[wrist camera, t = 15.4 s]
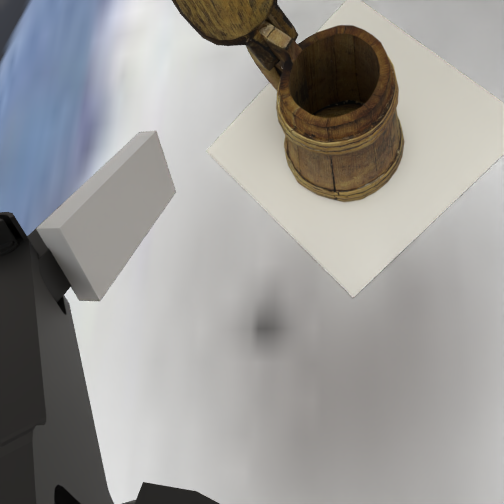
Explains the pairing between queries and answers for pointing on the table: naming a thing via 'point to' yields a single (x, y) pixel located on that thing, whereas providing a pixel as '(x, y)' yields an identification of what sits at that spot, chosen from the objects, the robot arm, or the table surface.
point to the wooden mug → (317, 93)
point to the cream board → (404, 179)
